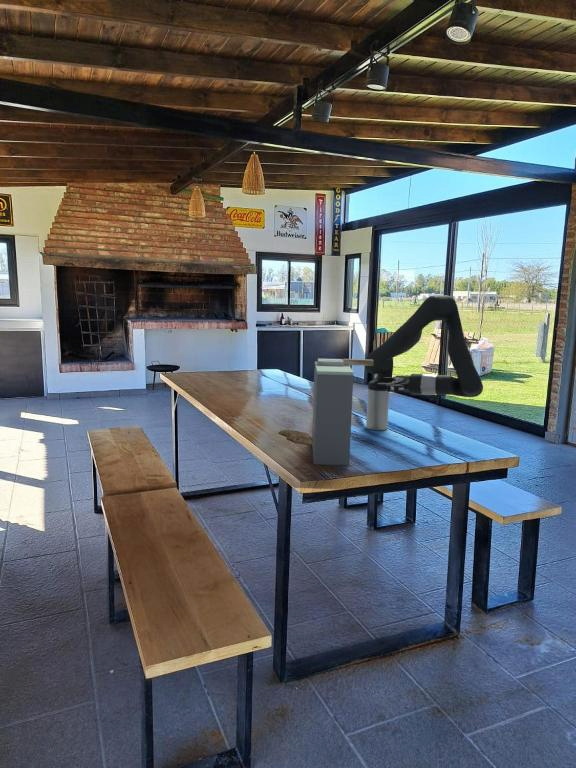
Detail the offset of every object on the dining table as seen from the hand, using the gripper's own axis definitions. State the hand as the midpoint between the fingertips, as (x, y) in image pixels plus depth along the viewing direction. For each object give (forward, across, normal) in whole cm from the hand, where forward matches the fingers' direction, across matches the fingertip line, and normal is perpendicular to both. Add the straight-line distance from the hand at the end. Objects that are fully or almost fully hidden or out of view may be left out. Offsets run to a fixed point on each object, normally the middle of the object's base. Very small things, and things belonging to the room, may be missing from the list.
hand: (379, 383), depth 203 cm
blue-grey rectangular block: (+15, +18, +22) cm, 32 cm away
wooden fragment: (+33, +4, +23) cm, 41 cm away
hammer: (+12, +8, -9) cm, 16 cm away
